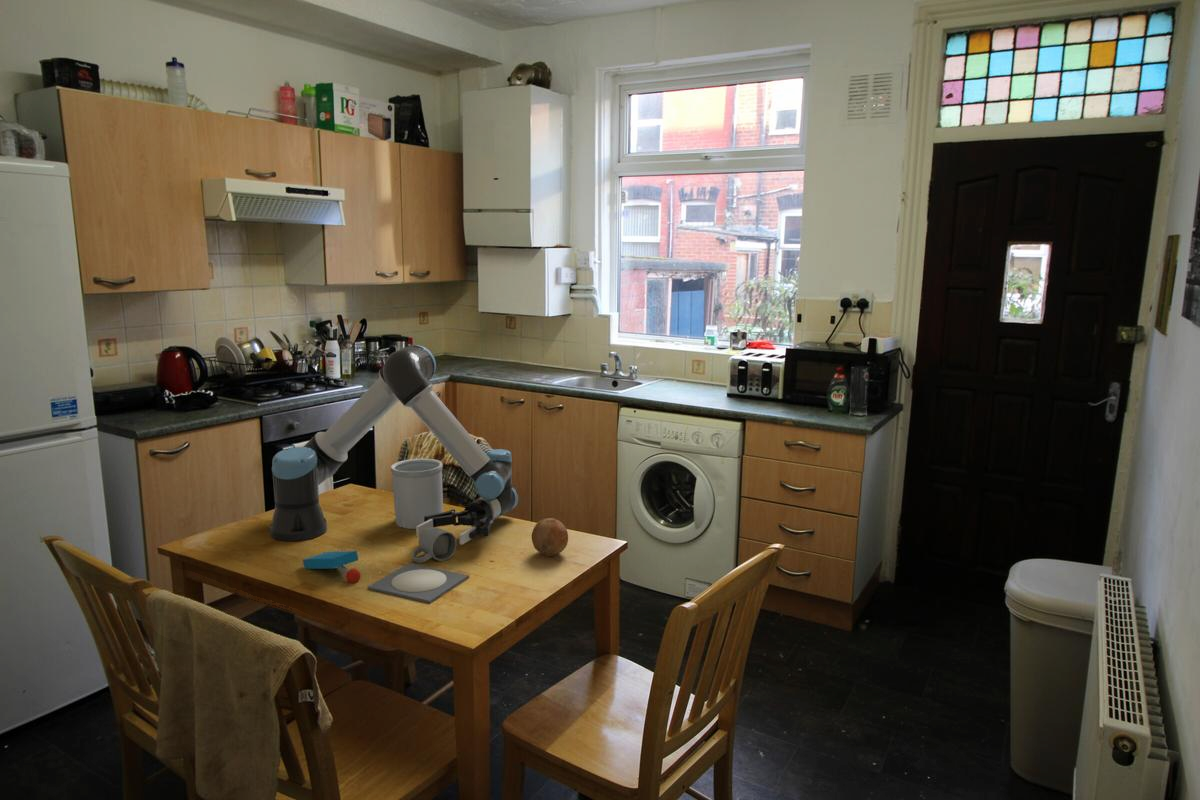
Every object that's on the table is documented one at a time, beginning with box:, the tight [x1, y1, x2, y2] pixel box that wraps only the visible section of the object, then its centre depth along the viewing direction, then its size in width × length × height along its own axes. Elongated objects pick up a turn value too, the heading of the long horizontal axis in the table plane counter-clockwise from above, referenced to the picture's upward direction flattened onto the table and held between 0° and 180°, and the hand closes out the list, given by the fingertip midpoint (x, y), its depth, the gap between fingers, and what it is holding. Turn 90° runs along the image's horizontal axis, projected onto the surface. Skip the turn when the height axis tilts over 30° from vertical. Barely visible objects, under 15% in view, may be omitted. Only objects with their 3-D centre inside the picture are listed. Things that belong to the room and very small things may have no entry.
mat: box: [367, 562, 470, 604], centre depth 190 cm, size 18×16×1 cm
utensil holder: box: [390, 458, 444, 530], centre depth 231 cm, size 15×15×18 cm
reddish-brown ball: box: [531, 517, 569, 557], centre depth 208 cm, size 10×10×10 cm
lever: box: [302, 550, 361, 584], centre depth 195 cm, size 7×7×18 cm
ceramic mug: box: [411, 527, 457, 564], centre depth 205 cm, size 11×8×8 cm
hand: (438, 535), depth 205 cm, fingers open, 13 cm apart
